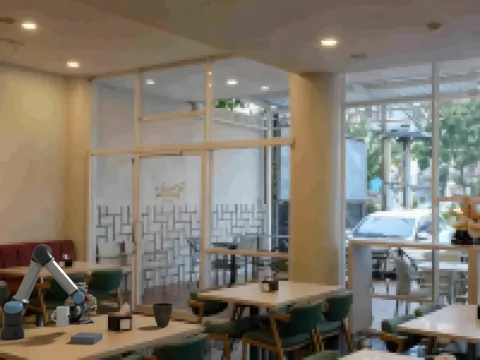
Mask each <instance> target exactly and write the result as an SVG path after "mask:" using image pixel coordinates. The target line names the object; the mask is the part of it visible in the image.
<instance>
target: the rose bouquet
mask: <svg viewBox="0 0 480 360" xmlns="http://www.w3.org/2000/svg"><path fill="white" fill-rule="evenodd" d="M74 284H75V285H76V286H84V287H85V304H86V307H87V308H86V311H85V312H84V313H82V314H79V315H77V316H76V317H70V318H69V326H70V325H75V324H76V325H83V324H87V323H91V322H92V321H93V319H92V320H91V316H90V315H89V314H90V313H89V312H93V313H94V312H95V311H96V310H98V309H97V308H98V306H97V298H96V297H95V296H94V295H92V294H91V293H90V294H89V293H88V292H89V289H88V288H89V285H87V283H86V282H85V281H83V282H82V281H81V282H74ZM63 302H64V304H63V306H68V307H70V306H72V305H74V301H73V299H72V298H71V297H70V295H68V297H67V298H66V299H63ZM84 314H85V315H86V316H88V317H87V318H86V316H83V315H84ZM92 323H93V324H95V323H94V322H92Z"/></svg>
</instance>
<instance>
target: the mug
mask: <svg viewBox="0 0 480 360" xmlns="http://www.w3.org/2000/svg"><path fill="white" fill-rule="evenodd" d="M55 312H56V318H53V314H54V313H55ZM51 314H52V313H51ZM53 314H52V321H54V323H55V326H56V327H60V328H61V327H69V326H70V325H69V318H68V319H65V315H66V314H69V307H68V306H64V305H60V306H56V309H55V310H54V311H53Z"/></svg>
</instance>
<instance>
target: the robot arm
mask: <svg viewBox="0 0 480 360" xmlns="http://www.w3.org/2000/svg"><path fill="white" fill-rule="evenodd" d="M52 254H53V250H52V247H51V246H50V245H48V244H45V243H40V244H37V246H35V247H34V248H33V250H32V255H31V257H30V260H29V261H30V264H29V267H28V268H27V271H26V272H25V274H24V277H23V279H22V282H20V283H21V284H20V286H19V288H18V290H17V292H16V294H14V295H13V296H12V297H11V300H10V301H6V302H5V304H4V306H3V327H2V330H1V331H0V340H3V341H17V340H21V339H22V340H23V339H24V338H25V329H24V327H23V316H24V315H25V314H26V311H27V308H28V306H29V303H30V301H29V298H30V296H31V294H32V291H33V290H34V288H35V286H36V283H37V281H38V278H39V277H40V274H41V272H42V271H43V268H44V269H45V270H46V271H48V273H49V274H50V275H51V276H52V278H54V280H55V281H56V282H57V283H58V285H60V286H61V288H63V290H64V291H65V293H67V294H68V296H70V297H71V298H72V299H73V301H74V305H72V306H70V307H69V314H66V315H65V319H68V318H70V317H76V316H77V315H79V314H82V313H84V312H85V311H86V308H87V307H86V304H85V287H84V286H76V285H77V284H76V285H75V282H74V281H73V280H72V279H71V278H70V277H69V276H68V274H67V273H66V272H65V271H64V270H63V269H62V268H61V267H60V266H59V265H58V263H57V262H56V261H55V257H54V256H53V255H52ZM53 312H54V311H53ZM53 312H52V313H51V314H50V319H52V314H53ZM84 314H85V313H84ZM53 319H56V312H55V313H54V314H53ZM53 319H52V320H53Z"/></svg>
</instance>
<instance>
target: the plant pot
mask: <svg viewBox="0 0 480 360" xmlns="http://www.w3.org/2000/svg"><path fill="white" fill-rule="evenodd" d="M152 310H153V311H152V312H153V316H154V319H155V323H156V326H157V327H158V328H166V327H165V326H167V327H168V326H169V323H170V320H171V316H172V312H173V303H168V302H158V303H153V304H152Z"/></svg>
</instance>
